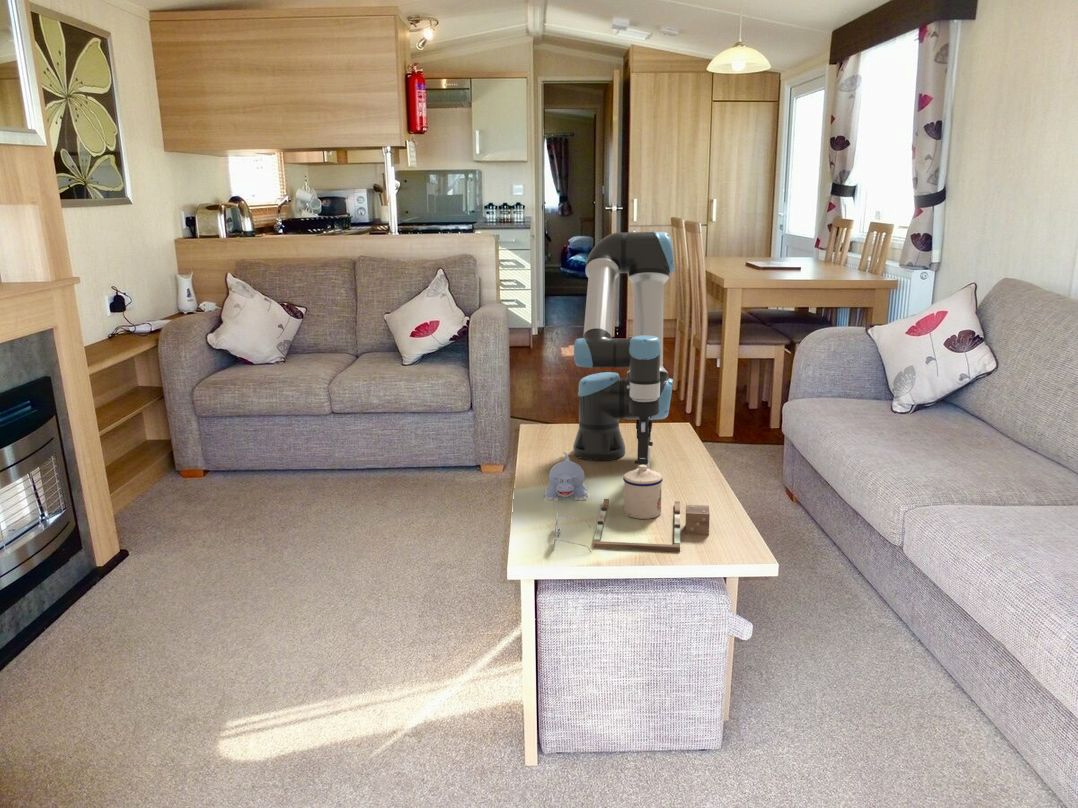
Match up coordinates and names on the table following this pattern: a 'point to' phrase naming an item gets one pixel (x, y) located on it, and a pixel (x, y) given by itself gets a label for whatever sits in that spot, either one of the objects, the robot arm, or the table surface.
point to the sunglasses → (559, 532)
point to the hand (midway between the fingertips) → (643, 479)
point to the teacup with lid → (642, 493)
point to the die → (697, 519)
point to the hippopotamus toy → (566, 481)
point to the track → (636, 546)
